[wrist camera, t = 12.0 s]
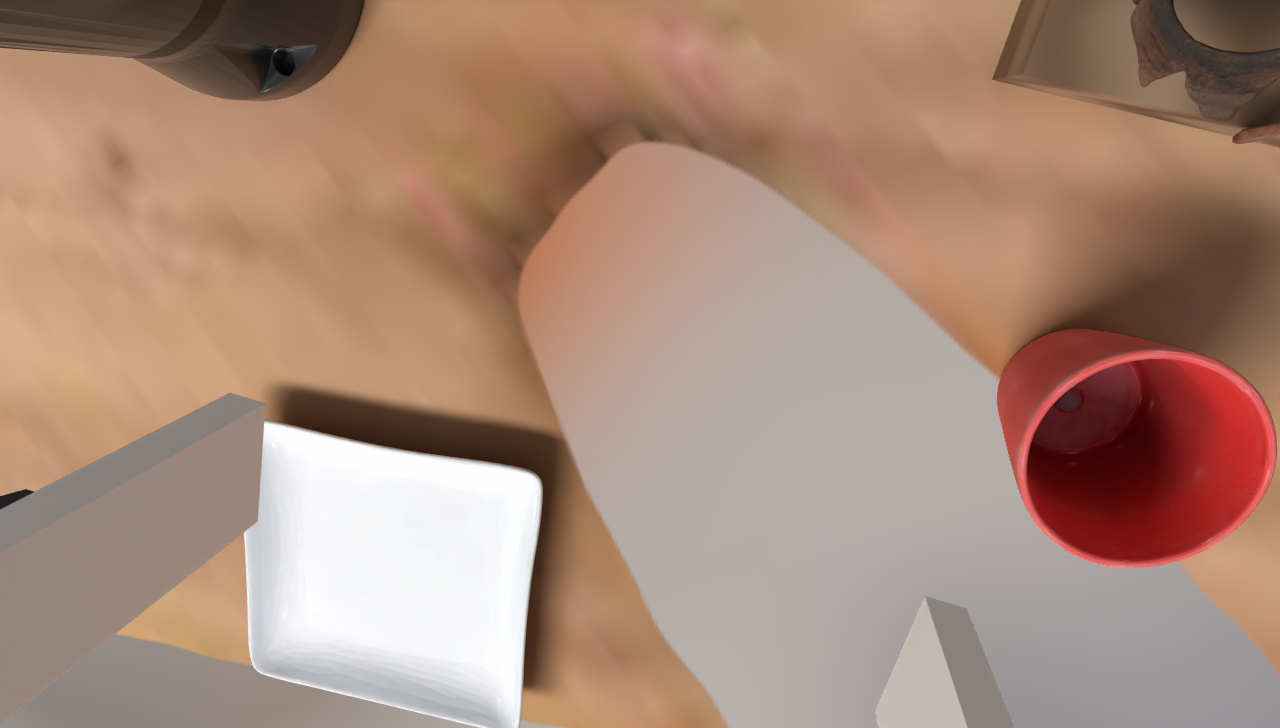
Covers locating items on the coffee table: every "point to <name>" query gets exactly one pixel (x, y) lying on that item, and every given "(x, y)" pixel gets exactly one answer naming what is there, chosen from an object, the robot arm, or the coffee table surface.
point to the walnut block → (1135, 56)
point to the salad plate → (392, 574)
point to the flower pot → (1133, 445)
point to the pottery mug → (1202, 66)
